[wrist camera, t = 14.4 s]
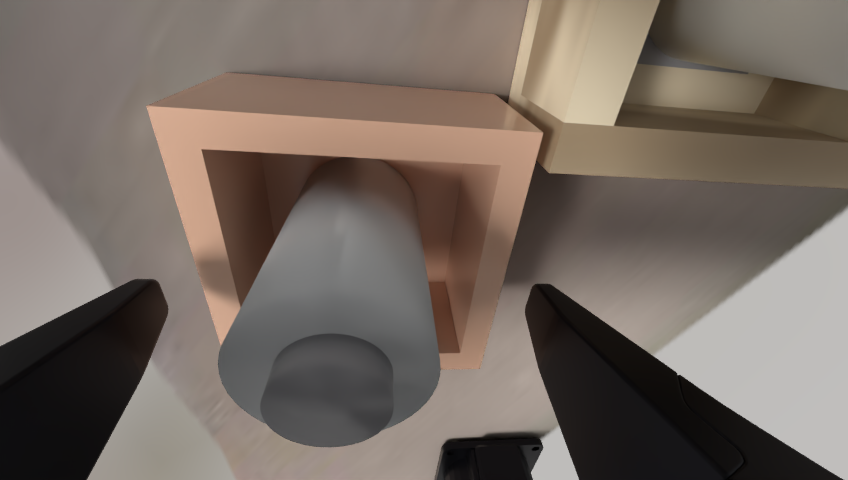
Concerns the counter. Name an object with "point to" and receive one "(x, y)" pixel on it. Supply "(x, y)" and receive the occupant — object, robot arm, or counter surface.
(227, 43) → the counter surface
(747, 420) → the robot arm
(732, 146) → the frame
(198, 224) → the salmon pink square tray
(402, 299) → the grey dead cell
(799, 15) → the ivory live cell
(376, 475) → the counter surface
